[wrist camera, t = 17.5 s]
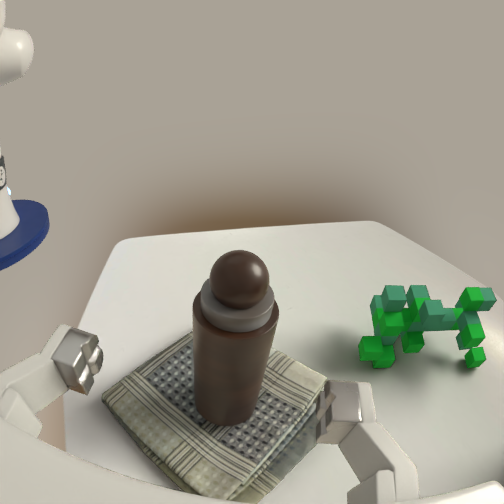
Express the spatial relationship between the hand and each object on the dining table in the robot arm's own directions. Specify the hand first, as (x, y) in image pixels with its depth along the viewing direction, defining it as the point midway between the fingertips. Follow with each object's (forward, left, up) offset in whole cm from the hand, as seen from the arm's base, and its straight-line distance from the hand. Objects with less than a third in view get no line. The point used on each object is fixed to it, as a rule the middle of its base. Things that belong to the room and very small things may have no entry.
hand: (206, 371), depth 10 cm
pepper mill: (+2, +9, -17) cm, 19 cm away
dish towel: (+2, +9, -20) cm, 22 cm away
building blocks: (+28, +14, -20) cm, 37 cm away
